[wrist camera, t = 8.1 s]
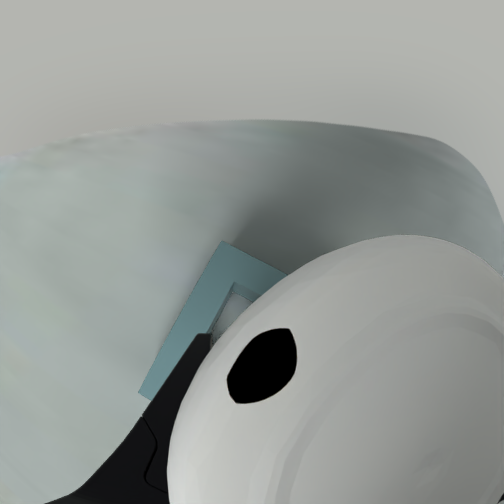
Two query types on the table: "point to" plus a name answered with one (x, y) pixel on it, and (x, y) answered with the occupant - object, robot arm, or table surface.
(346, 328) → the sprinkles bottle
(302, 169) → the table surface
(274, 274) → the holder
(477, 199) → the table surface
